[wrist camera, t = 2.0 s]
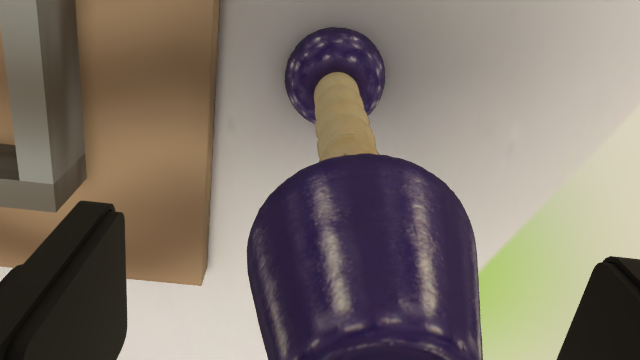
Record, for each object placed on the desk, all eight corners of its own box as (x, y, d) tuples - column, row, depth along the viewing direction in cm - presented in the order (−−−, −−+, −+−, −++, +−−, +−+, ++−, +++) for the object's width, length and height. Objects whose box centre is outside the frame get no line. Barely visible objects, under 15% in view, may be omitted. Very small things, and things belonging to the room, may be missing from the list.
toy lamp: (407, 105, 23) (592, 442, 8) (315, 155, 24) (323, 542, 9) (354, 6, 21) (464, 197, 6) (257, 65, 22) (141, 356, 7)
